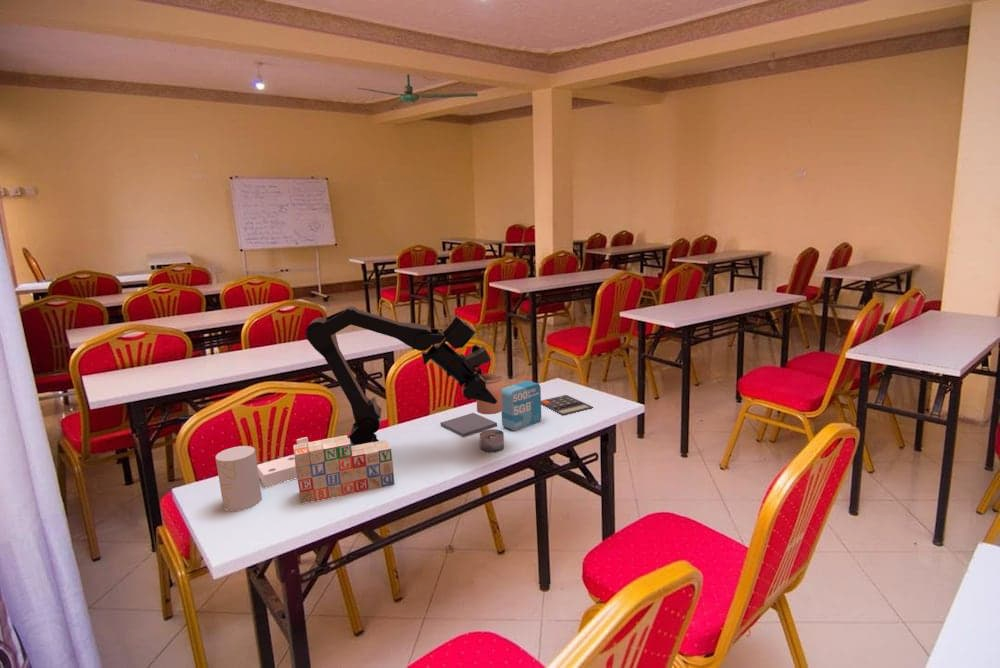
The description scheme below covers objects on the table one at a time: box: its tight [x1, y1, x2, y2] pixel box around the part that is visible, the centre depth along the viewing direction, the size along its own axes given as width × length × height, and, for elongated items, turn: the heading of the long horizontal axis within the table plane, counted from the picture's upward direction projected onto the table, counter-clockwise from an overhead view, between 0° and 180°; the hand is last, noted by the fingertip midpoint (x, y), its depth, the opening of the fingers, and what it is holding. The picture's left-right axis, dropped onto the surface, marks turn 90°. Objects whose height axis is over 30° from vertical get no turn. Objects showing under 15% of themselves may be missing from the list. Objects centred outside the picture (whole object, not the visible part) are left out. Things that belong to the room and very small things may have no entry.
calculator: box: [541, 394, 594, 417], centre depth 189 cm, size 12×1×15 cm
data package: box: [500, 380, 542, 432], centre depth 173 cm, size 12×4×12 cm, turn 131°
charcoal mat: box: [440, 412, 498, 438], centre depth 175 cm, size 12×12×1 cm
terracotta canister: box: [476, 373, 503, 415], centre depth 157 cm, size 7×7×9 cm
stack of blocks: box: [293, 434, 395, 504], centre depth 138 cm, size 21×6×12 cm, turn 111°
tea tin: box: [479, 428, 505, 454], centre depth 158 cm, size 6×6×4 cm
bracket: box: [257, 436, 310, 488], centre depth 148 cm, size 13×7×8 cm, turn 125°
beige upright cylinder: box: [215, 445, 263, 512], centre depth 134 cm, size 8×8×12 cm
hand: (494, 398), depth 157 cm, fingers closed on terracotta canister, 7 cm apart
